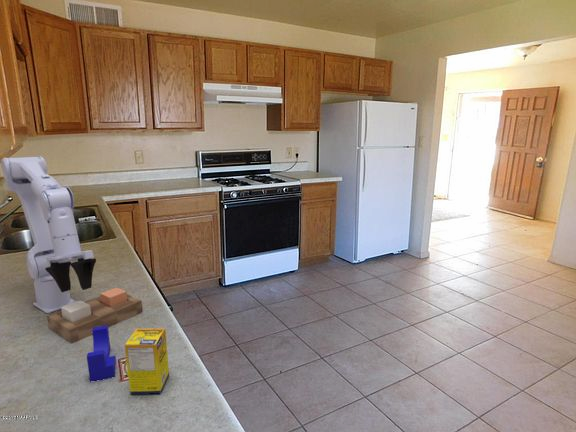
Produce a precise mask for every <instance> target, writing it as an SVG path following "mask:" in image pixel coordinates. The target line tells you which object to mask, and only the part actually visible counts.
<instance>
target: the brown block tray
mask: <svg viewBox="0 0 576 432" xmlns="http://www.w3.org/2000/svg"><path fill="white" fill-rule="evenodd" d="M84 302H85V303H87V304H89V305H90V309H91V315H90V316H87V317H85V318H82V319H80V320H77V321H74V322H72V323H70V322H68V321H67V320H65V319H63V317H62V310H61V309H60V310H57V311H54V312H51V313H49V314H47V315H46V317H47V318H46V319H47V324H48V328H49V329H50V330H51V331H53V332H54V333H56V334H57V335H59V336H60V337H62V338H63V339H64V340H66V341H67V342H69V343H71V344H73V343H76V342H77V341H80V340H83V339H85V338H87V337H90V336H91V335H92V336H93V332H92V330H93V328H94V327H100V326H106V325H108V328H110V327H113V326H114V325H117V324H119V323H121V322H123V321H126V320H128V319H130V318H133V317H135V316H137V315H140V314H142V313H143V303H142V302H143V301H142V300H141V299H139V298H136V297H134V296H132V295H130V294H128V293H127V301H125V302H123V303H120V304H118V305H115V306H113V307H108V306H106V305H104V304H102V303H101V297H100V295H99V296H97V297H94V298H91V299H89V300H86V301H84Z"/></svg>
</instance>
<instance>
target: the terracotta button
mask: <svg viewBox="0 0 576 432" xmlns="http://www.w3.org/2000/svg"><path fill="white" fill-rule="evenodd" d="M127 294H128V293H127V291H126V290H124V289H121V288H119V287H114V288H112V289H109V290H105V291H103V292H100V293H99V296H100V297H101V303H102V304H104V305H106V306H108V307H113V306H115V305H118V304H120V303H123V302H125V301H127Z"/></svg>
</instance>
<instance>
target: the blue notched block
mask: <svg viewBox="0 0 576 432" xmlns="http://www.w3.org/2000/svg"><path fill="white" fill-rule="evenodd" d="M92 332H93V334H92V341H93V350H92V351H91V352H87V354H86V363H87V368H88V375H89V383H90V382H91V381H95V382H98V381H97V380H100V381H104V380H103V379H105V380H109V379H113V378H112V377H114V378H115V377H116V367H117V366H116V365H117V356H116V355H112V356H111V354H110V353H111V342H110V333H109V327H108V325H106V326H100V327H94V328H93V330H92ZM108 378H109V379H108ZM91 383H92V382H91Z"/></svg>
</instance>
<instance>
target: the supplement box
mask: <svg viewBox="0 0 576 432" xmlns="http://www.w3.org/2000/svg"><path fill="white" fill-rule="evenodd" d="M167 343H168V342H167V334H166V328H165V327H164V328H162V327H159V328H155V327H154V328H136V329H135V330H134V332H132V334H131V336H130V337H129V339H128V340H127V341H126V342H125V344H124V348H125V357H126V358H125V359H126V367H127V368H126V369H127V377H128V384H129V393H130V395H131V394H136V395H149V394H148V393H161V394H162V391H163V390H164V388H165V385H166V383H167V381H168V378H169V376H170V371H169V357H168V347H167V345H168V344H167ZM146 393H147V394H146Z"/></svg>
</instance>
